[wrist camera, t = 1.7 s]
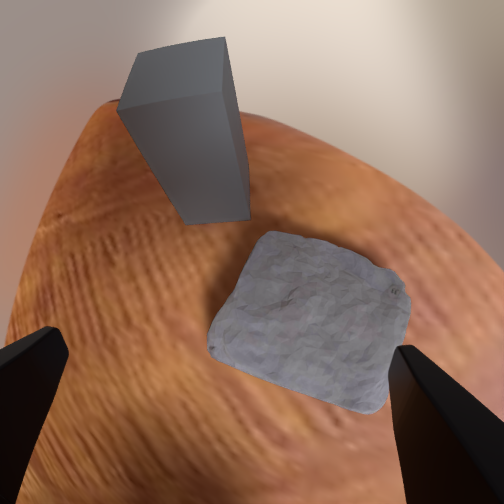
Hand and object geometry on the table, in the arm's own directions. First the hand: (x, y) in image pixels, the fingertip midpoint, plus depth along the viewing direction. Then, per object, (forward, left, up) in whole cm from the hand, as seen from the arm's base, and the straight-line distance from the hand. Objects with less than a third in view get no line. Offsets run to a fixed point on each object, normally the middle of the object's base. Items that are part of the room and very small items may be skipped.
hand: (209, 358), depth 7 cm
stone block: (+5, +1, -14) cm, 15 cm away
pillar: (+4, +13, -14) cm, 19 cm away
